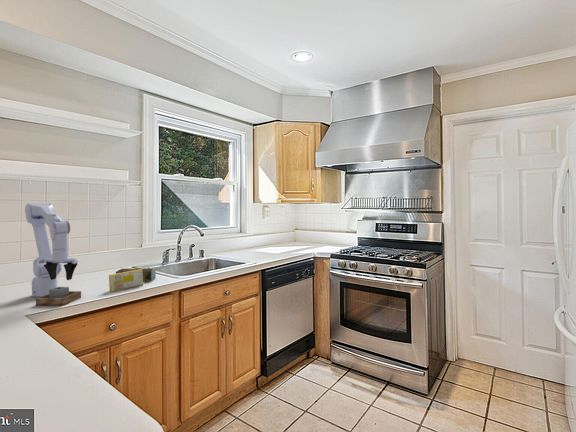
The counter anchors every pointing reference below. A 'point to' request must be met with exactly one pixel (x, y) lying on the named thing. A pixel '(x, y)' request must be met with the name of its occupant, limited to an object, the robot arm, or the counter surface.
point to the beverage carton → (147, 273)
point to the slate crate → (59, 292)
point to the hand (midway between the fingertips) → (61, 279)
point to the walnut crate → (58, 299)
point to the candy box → (125, 280)
